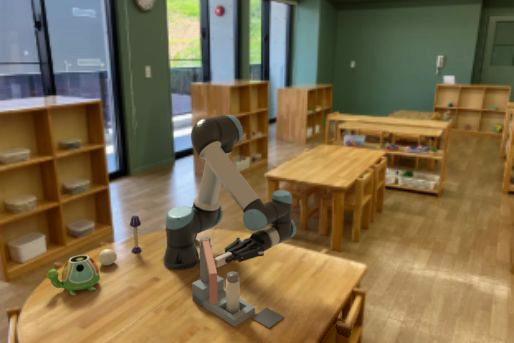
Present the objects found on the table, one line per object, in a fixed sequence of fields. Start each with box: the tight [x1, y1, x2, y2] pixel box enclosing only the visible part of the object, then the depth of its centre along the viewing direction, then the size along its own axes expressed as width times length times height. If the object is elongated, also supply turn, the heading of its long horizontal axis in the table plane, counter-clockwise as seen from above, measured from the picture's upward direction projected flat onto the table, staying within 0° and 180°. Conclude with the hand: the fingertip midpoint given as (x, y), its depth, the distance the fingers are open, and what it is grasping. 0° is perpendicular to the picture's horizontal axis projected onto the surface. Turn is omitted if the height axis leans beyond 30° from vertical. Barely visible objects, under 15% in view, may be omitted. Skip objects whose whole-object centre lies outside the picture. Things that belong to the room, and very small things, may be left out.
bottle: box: [225, 271, 241, 315], centre depth 144 cm, size 5×5×15 cm
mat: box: [250, 307, 285, 330], centre depth 143 cm, size 8×8×1 cm
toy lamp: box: [129, 215, 142, 254], centre depth 186 cm, size 5×5×17 cm
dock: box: [191, 245, 256, 327], centre depth 146 cm, size 22×10×21 cm, turn 48°
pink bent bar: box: [199, 236, 218, 304], centre depth 140 cm, size 26×4×10 cm, turn 13°
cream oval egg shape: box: [98, 248, 118, 267], centre depth 176 cm, size 7×7×7 cm
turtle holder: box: [46, 254, 101, 296], centre depth 158 cm, size 12×18×12 cm
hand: (216, 263), depth 134 cm, fingers closed
